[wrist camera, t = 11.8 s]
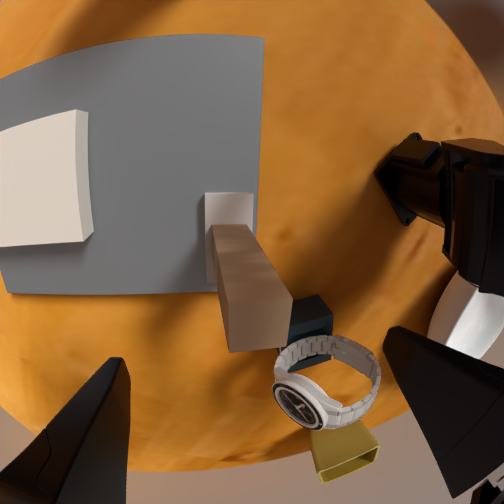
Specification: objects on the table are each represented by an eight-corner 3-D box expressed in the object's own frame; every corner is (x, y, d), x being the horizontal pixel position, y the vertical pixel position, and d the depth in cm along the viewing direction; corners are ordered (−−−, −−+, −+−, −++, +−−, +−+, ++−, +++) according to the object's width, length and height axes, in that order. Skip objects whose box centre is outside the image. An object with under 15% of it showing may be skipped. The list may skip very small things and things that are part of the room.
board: (259, 45, 15) (264, 38, 13) (249, 279, 22) (253, 289, 20) (-3, 87, 10) (-12, 85, 9) (15, 285, 17) (7, 292, 16)
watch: (249, 312, 23) (286, 419, 13) (335, 289, 24) (406, 371, 14) (258, 356, 25) (290, 453, 15) (334, 334, 26) (388, 414, 16)
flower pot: (304, 442, 36) (322, 485, 27) (296, 422, 32) (317, 473, 24) (353, 422, 36) (375, 461, 28) (353, 398, 32) (381, 444, 24)
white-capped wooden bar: (251, 192, 17) (310, 245, 8) (248, 275, 20) (290, 376, 11) (204, 192, 17) (214, 249, 8) (206, 277, 19) (220, 385, 10)
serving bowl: (420, 249, 24) (465, 278, 18) (502, 215, 27) (535, 230, 20) (396, 374, 33) (420, 405, 27) (477, 322, 35) (500, 342, 29)
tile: (76, 109, 11) (-21, 140, 9) (83, 241, 14) (-9, 247, 12) (89, 112, 13) (-4, 138, 11) (94, 230, 16) (5, 237, 14)
